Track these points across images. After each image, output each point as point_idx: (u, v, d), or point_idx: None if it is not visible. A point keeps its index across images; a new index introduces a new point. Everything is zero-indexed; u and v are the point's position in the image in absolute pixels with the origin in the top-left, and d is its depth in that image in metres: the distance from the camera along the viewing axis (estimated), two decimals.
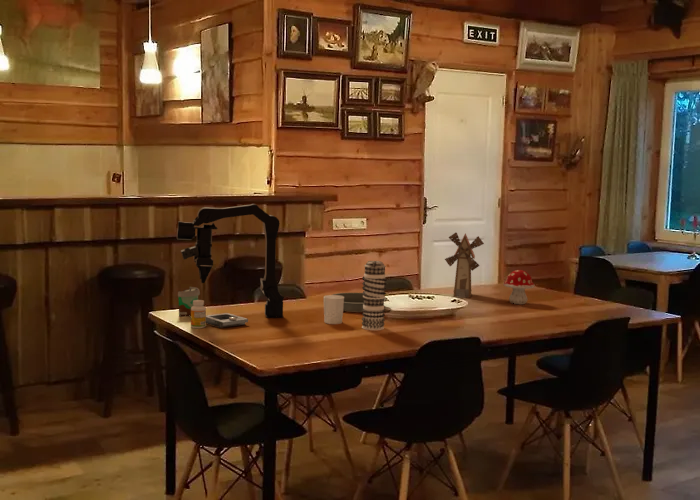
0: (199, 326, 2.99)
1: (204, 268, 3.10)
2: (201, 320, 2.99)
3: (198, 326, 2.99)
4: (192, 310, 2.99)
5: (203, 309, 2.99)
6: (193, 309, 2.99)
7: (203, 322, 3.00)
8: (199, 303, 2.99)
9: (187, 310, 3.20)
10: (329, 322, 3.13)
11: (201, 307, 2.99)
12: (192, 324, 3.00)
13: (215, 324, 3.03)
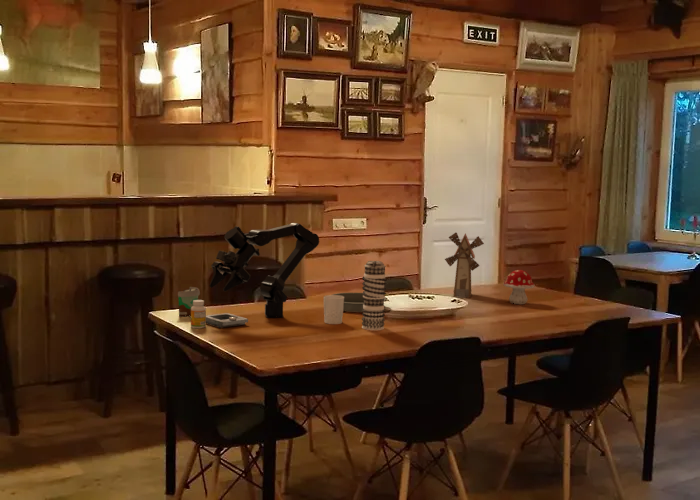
0: (199, 326, 2.99)
1: (235, 279, 3.04)
2: (201, 320, 2.99)
3: (198, 326, 2.99)
4: (192, 310, 2.99)
5: (203, 309, 2.99)
6: (193, 309, 2.99)
7: (203, 322, 3.00)
8: (199, 303, 2.99)
9: (187, 310, 3.20)
10: (329, 322, 3.13)
11: (201, 307, 2.99)
12: (192, 324, 3.00)
13: (215, 324, 3.03)
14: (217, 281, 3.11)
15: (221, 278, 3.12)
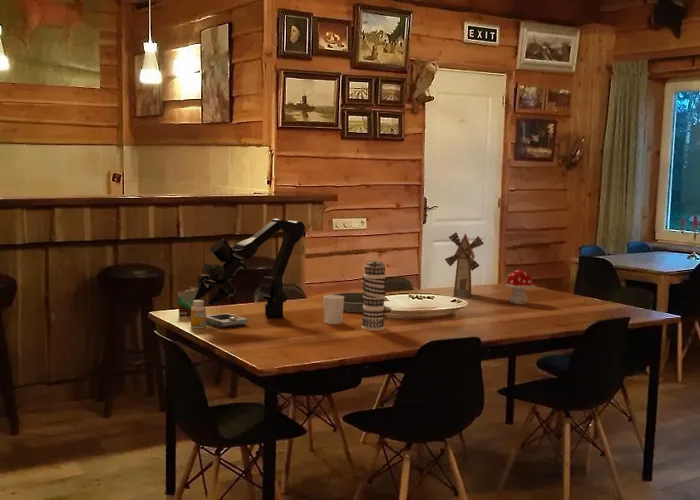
0: (199, 326, 2.99)
1: (220, 293, 3.00)
2: (201, 320, 2.99)
3: (198, 326, 2.99)
4: (192, 310, 2.99)
5: (203, 309, 2.99)
6: (193, 309, 2.99)
7: (203, 322, 3.00)
8: (199, 303, 2.99)
9: (187, 310, 3.20)
10: (329, 322, 3.13)
11: (201, 307, 2.99)
12: (192, 324, 3.00)
13: (215, 324, 3.03)
14: (202, 294, 3.07)
15: (206, 291, 3.08)
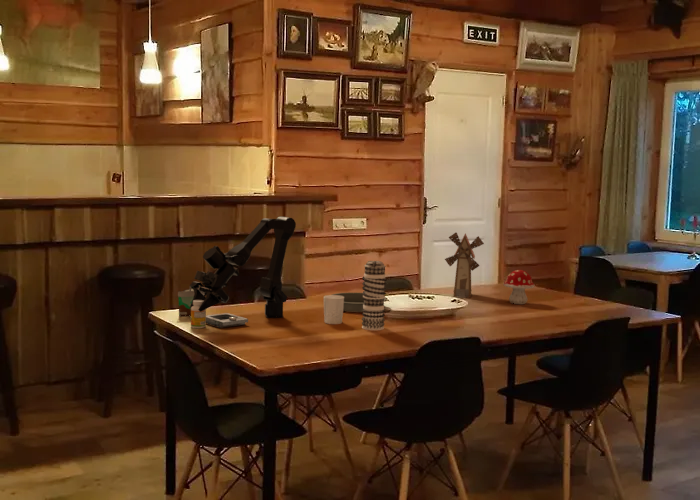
0: (199, 326, 2.99)
1: (211, 299, 2.99)
2: (201, 320, 2.99)
3: (198, 326, 2.99)
4: (192, 310, 2.99)
5: None
6: (193, 309, 2.99)
7: (203, 322, 3.00)
8: (199, 303, 2.99)
9: (187, 310, 3.20)
10: (329, 322, 3.13)
11: None
12: (192, 324, 3.00)
13: (215, 324, 3.03)
14: None
15: (202, 299, 3.06)
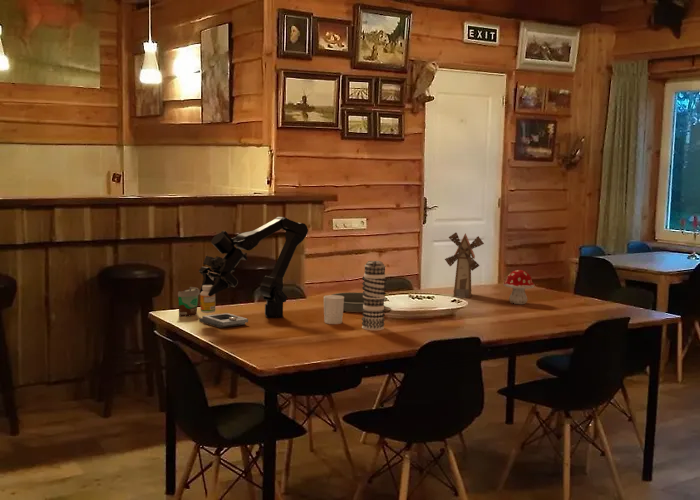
0: (209, 311, 3.01)
1: (220, 284, 3.01)
2: (211, 305, 3.01)
3: (208, 311, 3.01)
4: (202, 295, 3.01)
5: None
6: (202, 294, 3.01)
7: (213, 307, 3.02)
8: (208, 288, 3.01)
9: (187, 310, 3.20)
10: (329, 322, 3.13)
11: None
12: (202, 309, 3.02)
13: (215, 324, 3.03)
14: None
15: (211, 284, 3.08)
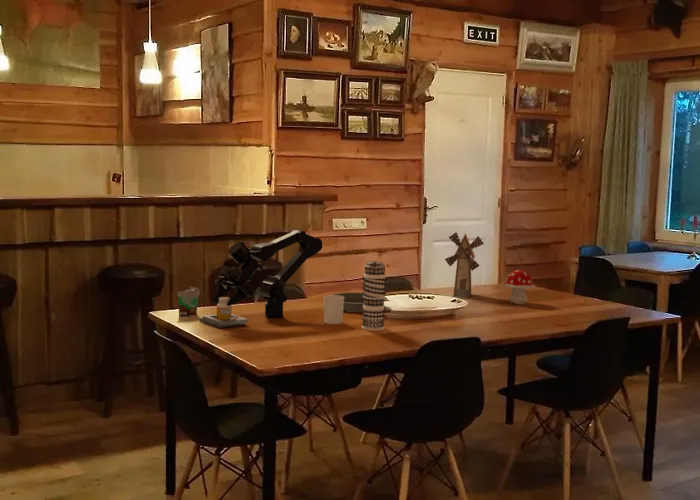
0: None
1: (239, 294, 3.05)
2: (227, 317, 3.07)
3: None
4: (218, 307, 3.07)
5: (229, 306, 3.07)
6: (219, 306, 3.06)
7: None
8: (225, 300, 3.06)
9: (187, 310, 3.20)
10: (329, 322, 3.13)
11: None
12: None
13: (215, 324, 3.03)
14: (221, 295, 3.13)
15: (225, 292, 3.14)
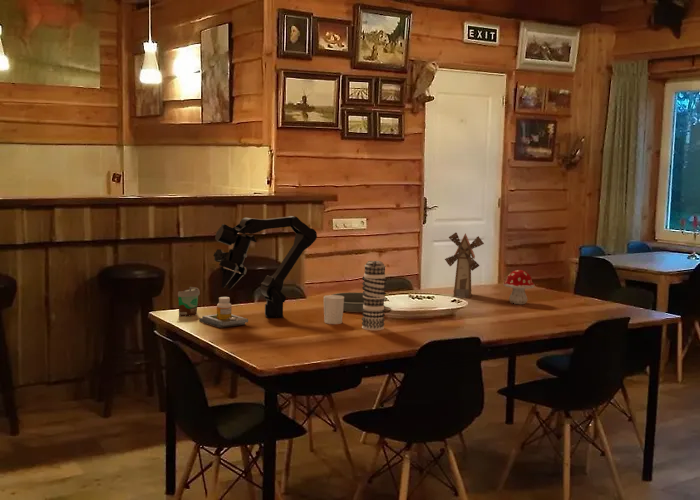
0: None
1: (227, 272, 3.08)
2: (227, 317, 3.07)
3: None
4: (218, 307, 3.07)
5: (229, 306, 3.07)
6: (219, 306, 3.06)
7: None
8: (225, 300, 3.06)
9: (187, 310, 3.20)
10: (329, 322, 3.13)
11: (227, 304, 3.07)
12: None
13: (215, 324, 3.03)
14: (235, 280, 3.18)
15: (238, 276, 3.18)
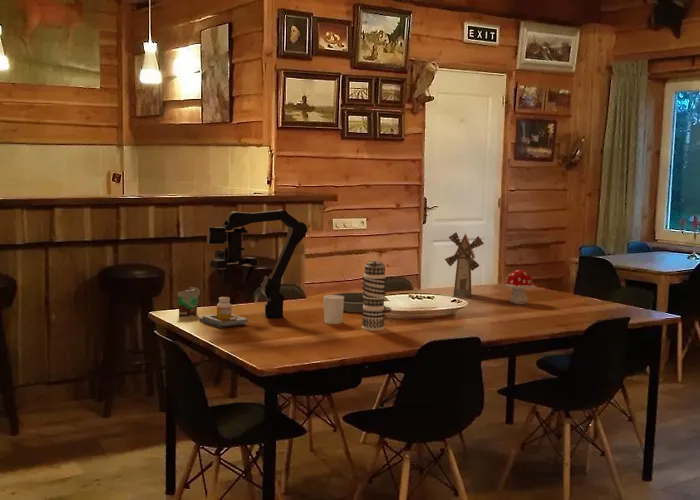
0: None
1: (222, 271, 3.13)
2: (227, 317, 3.07)
3: None
4: (218, 307, 3.07)
5: (229, 306, 3.07)
6: (219, 306, 3.06)
7: None
8: (225, 300, 3.06)
9: (187, 310, 3.20)
10: (329, 322, 3.13)
11: (227, 304, 3.07)
12: None
13: (215, 324, 3.03)
14: (246, 274, 3.20)
15: (247, 270, 3.19)
